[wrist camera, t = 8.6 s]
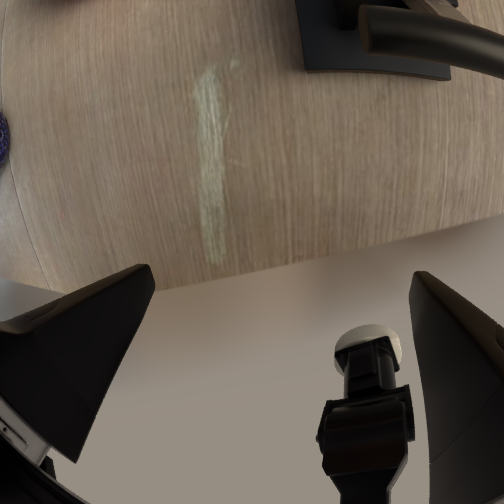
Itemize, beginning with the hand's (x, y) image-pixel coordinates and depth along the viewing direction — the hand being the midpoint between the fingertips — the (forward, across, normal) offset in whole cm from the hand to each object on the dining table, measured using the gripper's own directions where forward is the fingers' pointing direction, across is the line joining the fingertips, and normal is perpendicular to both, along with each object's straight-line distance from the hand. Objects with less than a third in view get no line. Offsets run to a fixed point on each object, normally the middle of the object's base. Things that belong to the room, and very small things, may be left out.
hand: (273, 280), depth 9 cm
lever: (+4, -6, -9) cm, 12 cm away
